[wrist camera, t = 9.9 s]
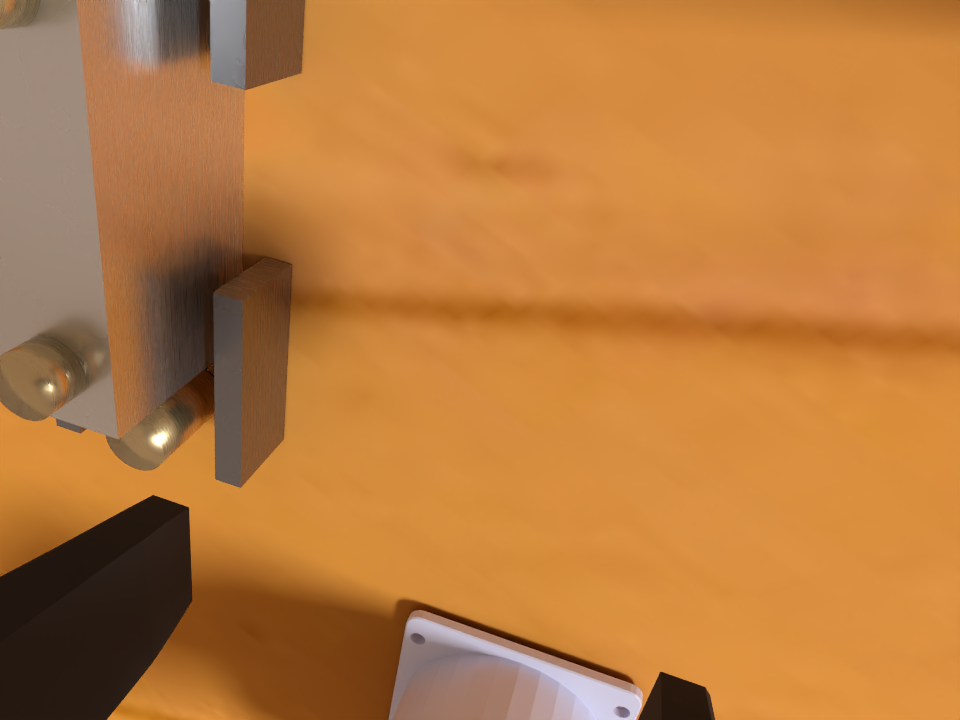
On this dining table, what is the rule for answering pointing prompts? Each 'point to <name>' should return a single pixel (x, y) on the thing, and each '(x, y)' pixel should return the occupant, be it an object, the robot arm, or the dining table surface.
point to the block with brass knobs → (112, 205)
